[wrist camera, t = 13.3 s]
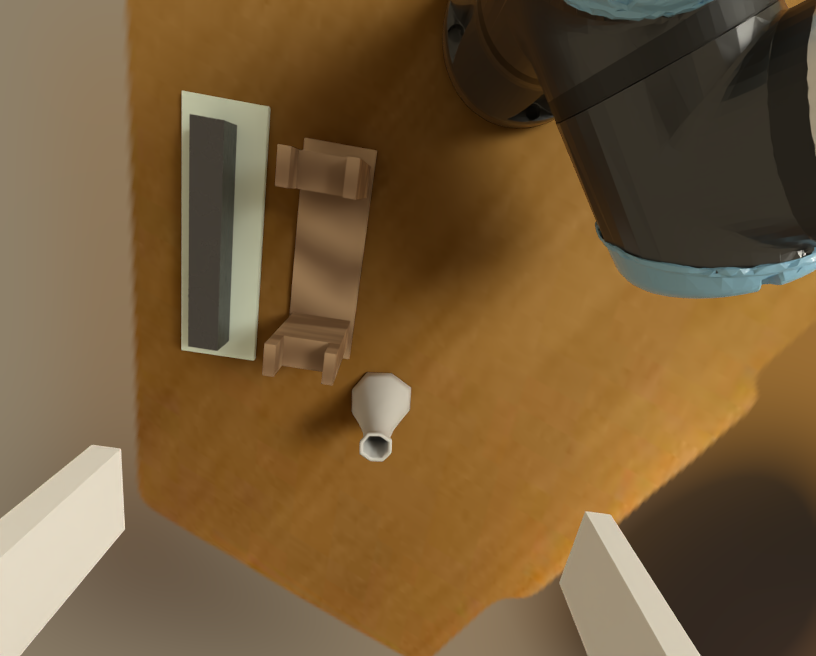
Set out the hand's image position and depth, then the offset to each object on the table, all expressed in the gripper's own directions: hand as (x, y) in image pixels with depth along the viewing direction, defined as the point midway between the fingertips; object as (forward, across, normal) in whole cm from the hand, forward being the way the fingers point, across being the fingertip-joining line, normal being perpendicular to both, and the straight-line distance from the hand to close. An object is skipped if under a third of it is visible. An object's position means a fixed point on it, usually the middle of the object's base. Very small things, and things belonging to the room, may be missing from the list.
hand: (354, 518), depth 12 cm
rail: (+34, -18, +1) cm, 39 cm away
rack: (+35, -7, +1) cm, 35 cm away
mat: (+35, -18, +1) cm, 39 cm away
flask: (+35, +1, -14) cm, 38 cm away
